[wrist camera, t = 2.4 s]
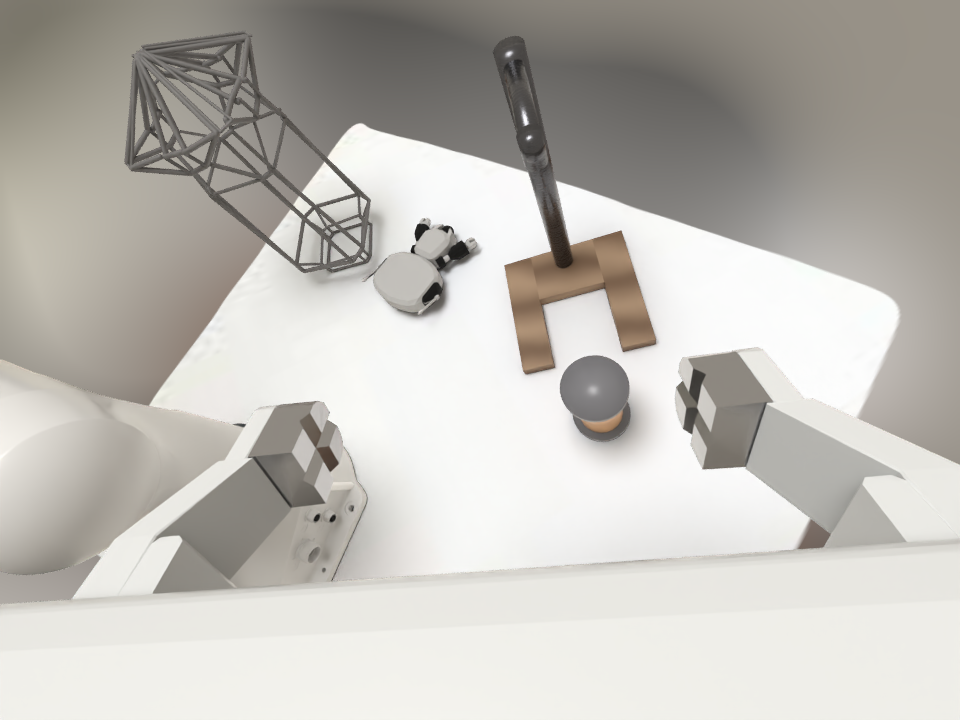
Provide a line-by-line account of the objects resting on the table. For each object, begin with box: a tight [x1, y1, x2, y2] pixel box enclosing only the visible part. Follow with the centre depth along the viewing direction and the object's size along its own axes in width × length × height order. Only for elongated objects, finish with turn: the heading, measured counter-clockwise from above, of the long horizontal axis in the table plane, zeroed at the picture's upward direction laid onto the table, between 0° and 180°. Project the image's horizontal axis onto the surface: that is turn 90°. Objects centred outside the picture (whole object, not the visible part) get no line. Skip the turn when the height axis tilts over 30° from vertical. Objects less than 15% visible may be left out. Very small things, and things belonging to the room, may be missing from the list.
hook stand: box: [493, 36, 573, 268], centre depth 43 cm, size 12×2×30 cm, turn 7°
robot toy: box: [362, 218, 477, 315], centre depth 65 cm, size 12×4×15 cm
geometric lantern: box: [125, 31, 372, 273], centre depth 59 cm, size 16×16×35 cm
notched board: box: [505, 231, 656, 374], centre depth 57 cm, size 16×16×2 cm
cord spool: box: [560, 356, 630, 442], centre depth 46 cm, size 6×6×11 cm
